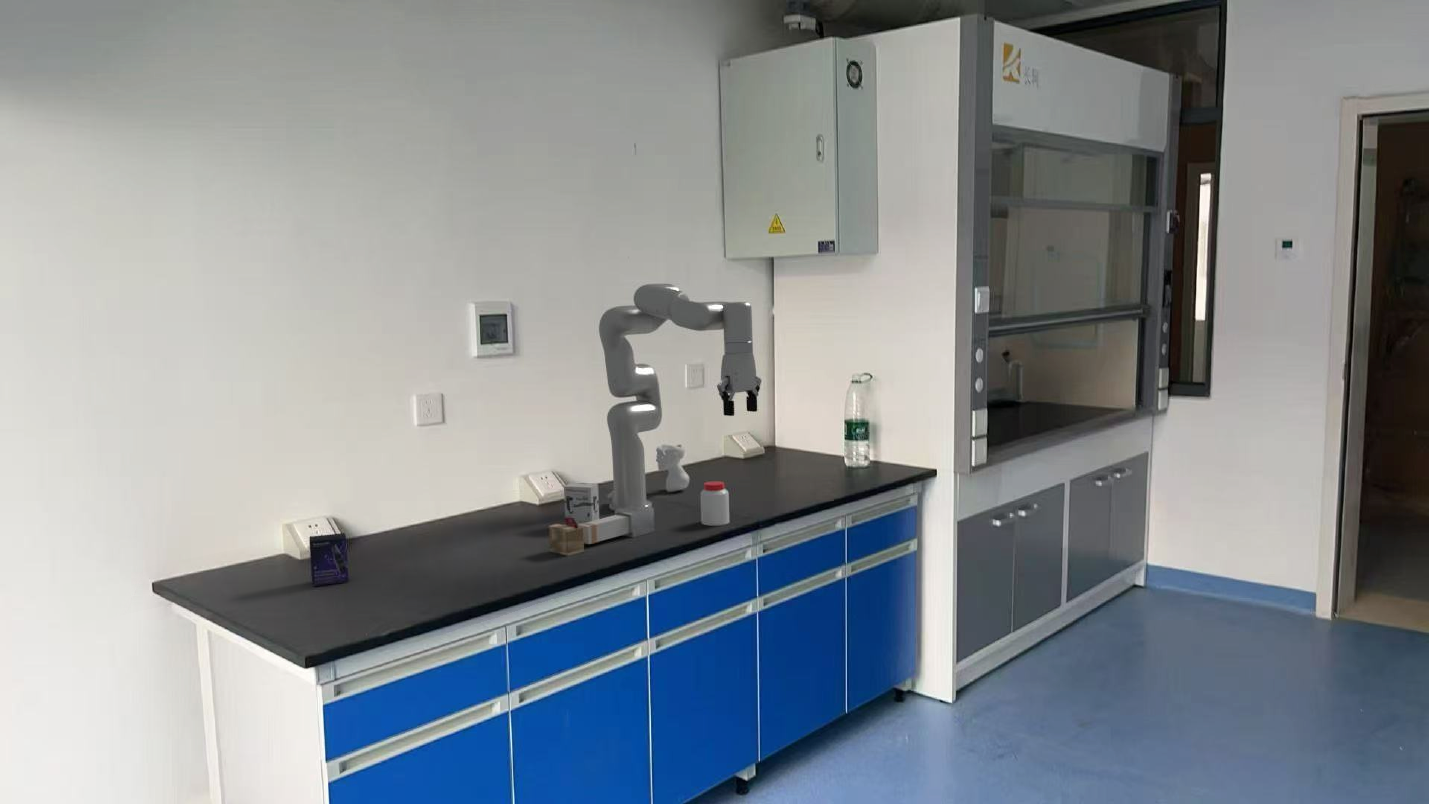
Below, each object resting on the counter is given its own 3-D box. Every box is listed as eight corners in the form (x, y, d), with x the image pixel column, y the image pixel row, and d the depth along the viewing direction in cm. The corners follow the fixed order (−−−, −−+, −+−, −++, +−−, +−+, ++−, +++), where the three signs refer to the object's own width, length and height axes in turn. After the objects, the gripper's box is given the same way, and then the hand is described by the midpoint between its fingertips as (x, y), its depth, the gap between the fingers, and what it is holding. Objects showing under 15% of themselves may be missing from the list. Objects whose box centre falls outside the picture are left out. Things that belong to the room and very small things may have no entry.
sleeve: (615, 534, 268) (614, 510, 268) (637, 528, 274) (636, 504, 274) (633, 537, 264) (631, 513, 263) (654, 531, 270) (653, 507, 269)
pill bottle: (726, 525, 273) (725, 486, 272) (698, 525, 275) (697, 485, 274) (731, 519, 281) (730, 480, 280) (704, 519, 282) (703, 480, 281)
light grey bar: (578, 542, 257) (577, 524, 257) (640, 525, 273) (639, 508, 273) (589, 544, 254) (588, 526, 254) (651, 527, 271) (650, 510, 270)
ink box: (564, 527, 278) (562, 485, 277) (572, 523, 283) (570, 482, 281) (592, 529, 275) (590, 486, 274) (600, 524, 280) (598, 483, 278)
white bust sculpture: (695, 491, 321) (693, 445, 320) (665, 496, 315) (663, 449, 314) (679, 487, 329) (677, 441, 328) (649, 492, 323) (647, 445, 321)
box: (312, 587, 228) (308, 541, 227) (311, 581, 233) (308, 535, 232) (349, 582, 231) (346, 536, 230) (348, 576, 236) (344, 531, 235)
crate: (550, 551, 252) (549, 525, 252) (565, 547, 256) (564, 521, 255) (568, 555, 248) (567, 529, 247) (584, 551, 251) (582, 525, 251)
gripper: (747, 346, 274) (749, 409, 276) (706, 351, 261) (708, 416, 263) (769, 347, 269) (771, 410, 271) (728, 351, 256) (730, 418, 258)
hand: (740, 413), depth 267 cm, fingers open, 9 cm apart
